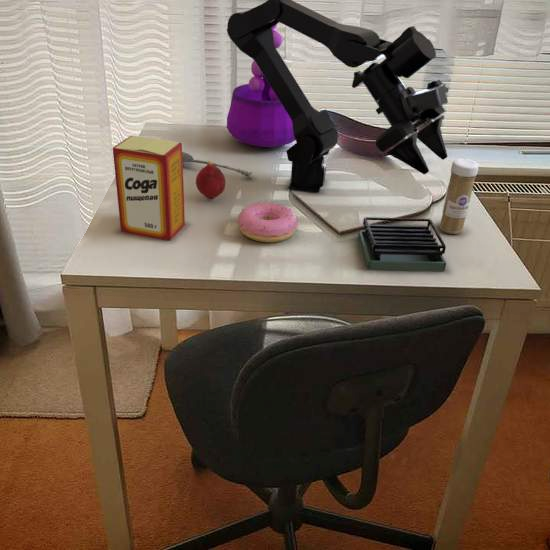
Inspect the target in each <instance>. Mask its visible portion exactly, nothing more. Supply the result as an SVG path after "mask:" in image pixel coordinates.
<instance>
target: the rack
mask: <svg viewBox="0 0 550 550" xmlns="http://www.w3.org/2000/svg"><path fill="white" fill-rule="evenodd" d="M369 221H386V222H387V221H391V222H392V221H393V222H427V224H426V225H414V224H413V225H411V224H409V225H408V224H406V225H405V224H374V223H373V224H369ZM362 225H363V228H364V231H366V233H367V241H368V244H369V247H370V250H371V253H372V256H373V259H374V261H380V257H381V254H388V255H427V257H428V259H429V261H430V262H437V258H438V256H443V255H445V253H446V249H447V248H446V244H445V241H444V240H443V238H442V236H441V234H440V233H439V231H438V229H437V227H436V226H435V224H434V222H433V221H432V219H431V218H420V217H419V218H412V217H377V216H376V217H375V216H374V217H373V216H372V217H371V216H365V217H363V221H362ZM430 227H431V228H432V230H431V229H430ZM432 231H433V232H434V234H433V233H432ZM434 236H435V237H434ZM436 237H437V239H438V241H439V242H438V241H437V239H436ZM439 243H440V245H439Z"/></svg>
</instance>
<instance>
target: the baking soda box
mask: <svg viewBox="0 0 550 550" xmlns="http://www.w3.org/2000/svg"><path fill="white" fill-rule="evenodd" d="M182 152H183V143H182V142H180V141H179V142H178V141H172V140H166V139H160V138H151V137H144V136H138V135H129V136H128V137H126V138H125V139H124V140H122V141H120V142H119V143H118V144H116V145H115V146H113V147H112V157H113V167H114V175H115V184H116V186H115V187H116V195H117V196H116V197H117V204H118V216H119V225H120V227H119V228H120V232H121V233H125V234H130V235H131V234H132V235H137V236H141V237H148V238H154V239H159V240H164V241H171V240H173V238H174V237H176V235H177V234H179V232H180V231H181V230H182V229H183V227H184V226H186V219H185V217H186V215H185V195H184V194H185V193H184V170H183V169H184V166H183V165H184V164H183V163H184V162H182Z"/></svg>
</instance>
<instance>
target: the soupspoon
mask: <svg viewBox="0 0 550 550" xmlns="http://www.w3.org/2000/svg"><path fill="white" fill-rule="evenodd" d="M182 162H183V163H195V164H203V165H207V163H208V161H207V160H200V159H194V157H193V155H191V154H190V153H187V152H185V151H182ZM212 164H213V165H214V166H216V167H218V168H223V169H227V170H230V171H234V172H237V174H241V175H243V176H245V177H247V179H248V180H249V179H251V177H252V175H253V171H246V170H243V169H241V168H235V167H232V166H228V165H223V164H220V163H216V162H212Z"/></svg>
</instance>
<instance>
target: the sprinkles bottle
mask: <svg viewBox="0 0 550 550" xmlns="http://www.w3.org/2000/svg"><path fill="white" fill-rule="evenodd" d="M479 165H480V164H479V163H478V162H477V161H475V160H472V159H469V158H455V159H454V160H453V161H452V163H451V167H450V177H449V182H448V185H447V188H446V192H445V193H446V194H445V198H444V201H443V202H444V203H443V207H442V215H441V220H440V222H439V226H438V227H439V229H440V230H441V231H442V232H443V233H446V234H450V235H459V234H461V233H463V232H464V227H465V222H466V219H467V218H466V217H467V216H468V212H469V207H470V203H471V198H472V193H473V189H474V184H475V179H476V176H477V175H478V173H479V172H478V171H479Z"/></svg>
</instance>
